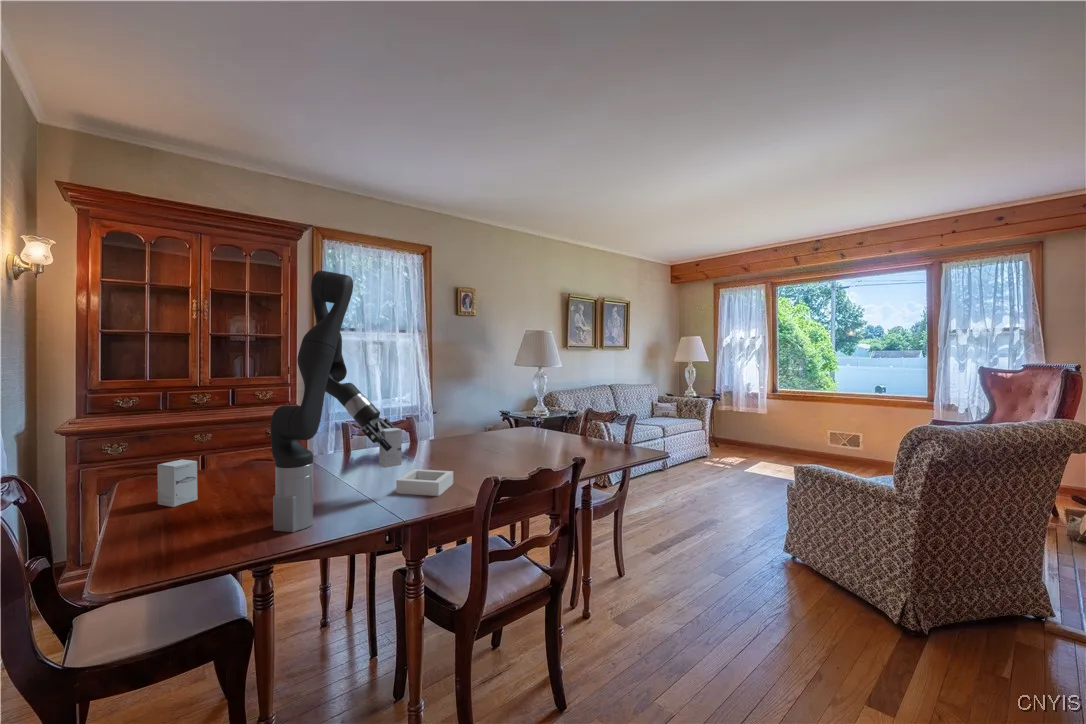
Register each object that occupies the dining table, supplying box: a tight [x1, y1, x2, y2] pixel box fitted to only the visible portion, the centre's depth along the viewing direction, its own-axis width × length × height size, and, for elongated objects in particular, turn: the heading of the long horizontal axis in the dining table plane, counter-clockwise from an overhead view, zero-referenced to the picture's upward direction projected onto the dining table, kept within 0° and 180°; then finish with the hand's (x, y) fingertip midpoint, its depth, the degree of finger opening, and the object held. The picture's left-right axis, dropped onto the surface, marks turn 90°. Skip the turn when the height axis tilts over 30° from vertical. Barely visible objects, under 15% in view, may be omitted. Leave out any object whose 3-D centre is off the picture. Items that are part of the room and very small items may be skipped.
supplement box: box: [157, 459, 198, 508], centre depth 146 cm, size 7×7×13 cm
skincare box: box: [378, 427, 403, 469], centre depth 154 cm, size 6×4×12 cm
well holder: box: [395, 468, 454, 497], centre depth 163 cm, size 14×15×4 cm
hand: (395, 446), depth 154 cm, fingers closed on skincare box, 7 cm apart
